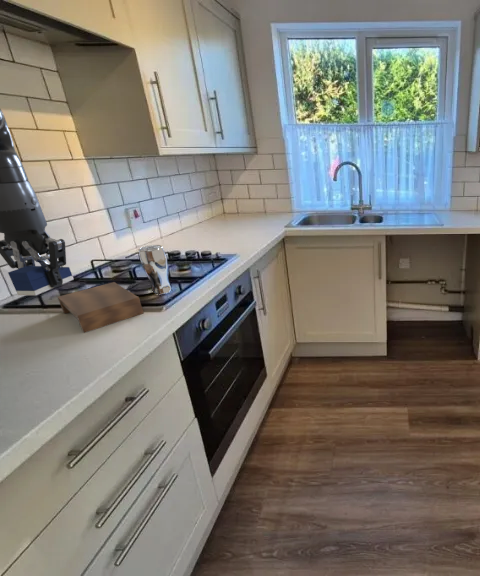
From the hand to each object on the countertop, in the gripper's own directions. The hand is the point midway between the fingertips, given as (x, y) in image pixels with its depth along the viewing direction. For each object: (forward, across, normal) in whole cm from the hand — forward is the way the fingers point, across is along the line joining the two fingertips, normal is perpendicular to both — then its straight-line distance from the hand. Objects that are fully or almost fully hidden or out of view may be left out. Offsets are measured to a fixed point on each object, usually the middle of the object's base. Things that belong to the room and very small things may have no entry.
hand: (47, 285), depth 78 cm
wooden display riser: (+17, -10, +21) cm, 29 cm away
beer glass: (+17, -2, +36) cm, 40 cm away
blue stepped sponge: (0, 0, 0) cm, 0 cm away
